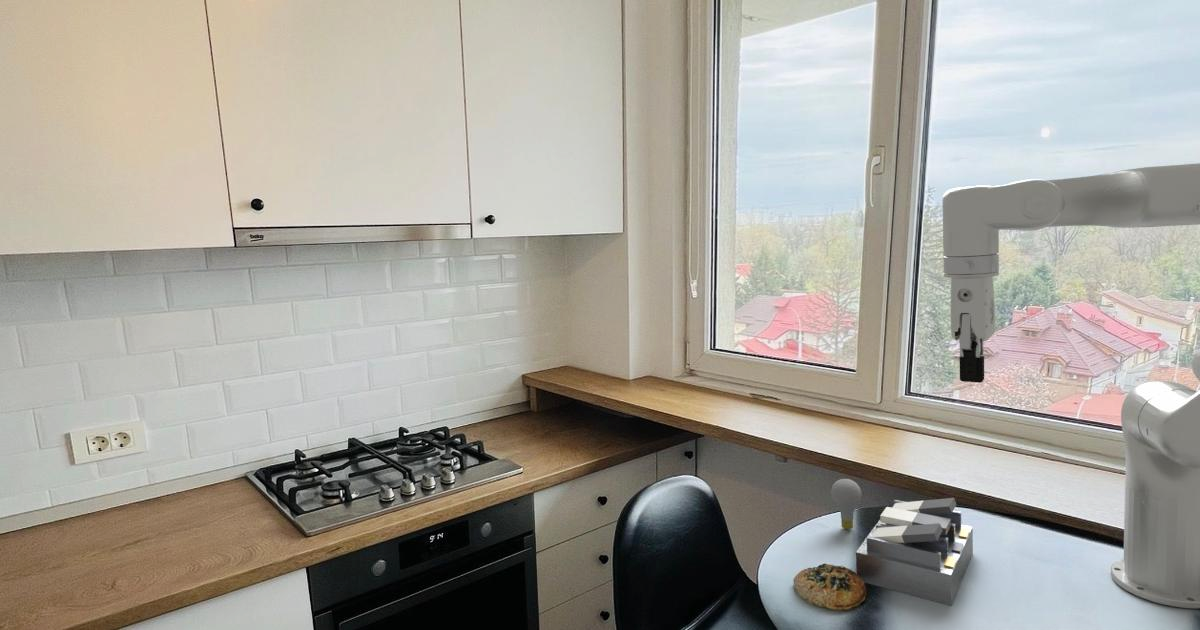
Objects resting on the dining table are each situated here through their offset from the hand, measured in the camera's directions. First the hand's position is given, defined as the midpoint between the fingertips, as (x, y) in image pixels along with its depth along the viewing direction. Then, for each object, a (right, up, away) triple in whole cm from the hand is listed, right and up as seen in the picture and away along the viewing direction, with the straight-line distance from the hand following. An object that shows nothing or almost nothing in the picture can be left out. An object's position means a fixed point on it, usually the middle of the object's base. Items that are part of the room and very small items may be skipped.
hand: (972, 380), depth 103 cm
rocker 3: (-10, -25, +1) cm, 27 cm away
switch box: (-6, -32, +6) cm, 33 cm away
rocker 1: (-3, -23, +9) cm, 25 cm away
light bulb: (-12, -31, +21) cm, 39 cm away
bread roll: (-22, -35, +1) cm, 41 cm away
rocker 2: (-7, -24, +5) cm, 26 cm away
